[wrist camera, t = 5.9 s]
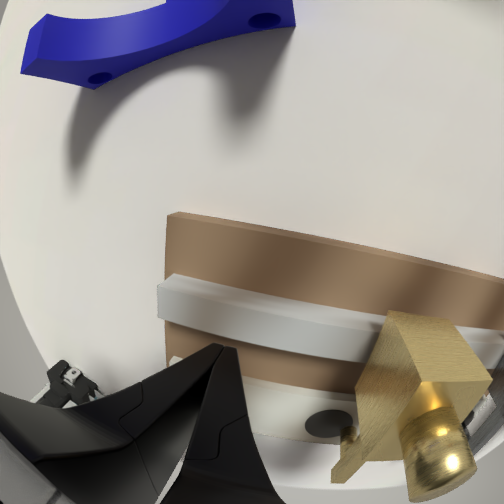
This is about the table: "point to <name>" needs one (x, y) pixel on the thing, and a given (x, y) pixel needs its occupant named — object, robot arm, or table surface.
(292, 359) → the board
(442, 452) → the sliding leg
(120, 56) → the cable clip
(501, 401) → the fixed leg
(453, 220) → the table surface
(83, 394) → the push button
